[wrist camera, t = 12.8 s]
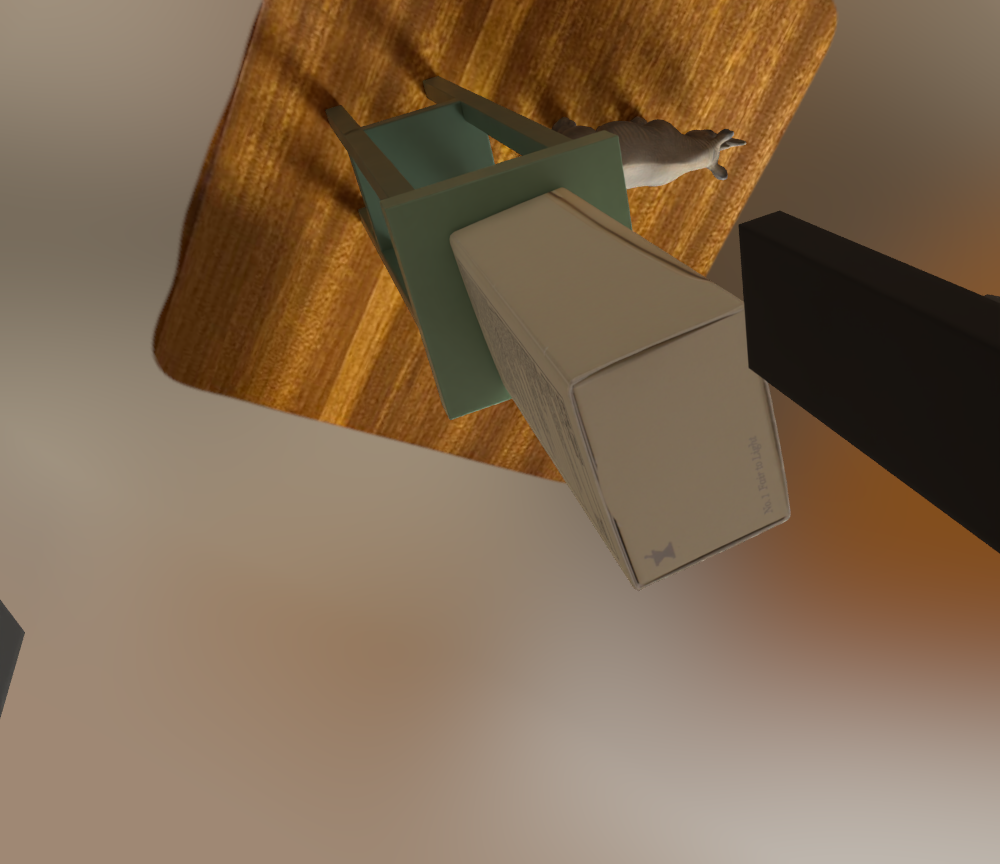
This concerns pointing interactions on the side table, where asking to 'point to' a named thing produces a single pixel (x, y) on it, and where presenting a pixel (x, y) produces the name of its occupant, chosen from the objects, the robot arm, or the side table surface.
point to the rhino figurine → (659, 149)
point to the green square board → (466, 200)
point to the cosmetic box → (628, 381)
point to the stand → (429, 151)
